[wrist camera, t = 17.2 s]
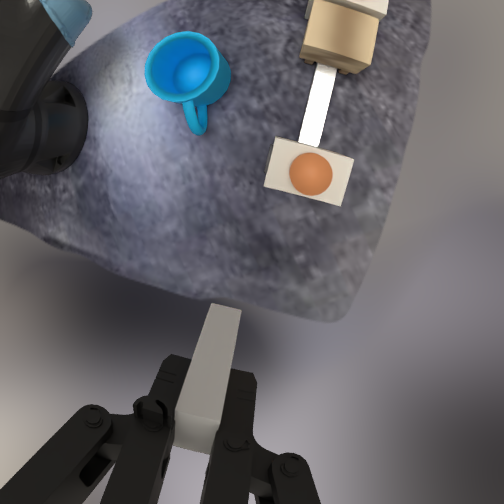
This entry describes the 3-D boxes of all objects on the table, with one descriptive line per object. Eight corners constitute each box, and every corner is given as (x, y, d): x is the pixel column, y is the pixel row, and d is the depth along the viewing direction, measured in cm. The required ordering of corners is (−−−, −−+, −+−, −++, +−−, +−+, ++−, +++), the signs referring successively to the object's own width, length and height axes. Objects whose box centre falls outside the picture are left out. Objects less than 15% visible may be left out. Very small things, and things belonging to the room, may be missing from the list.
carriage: (297, 61, 31) (303, 44, 24) (307, 22, 29) (314, -2, 21) (351, 76, 31) (370, 64, 24) (360, 38, 29) (379, 19, 21)
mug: (166, 57, 32) (141, 42, 24) (227, 43, 31) (214, 23, 23) (177, 140, 36) (153, 143, 29) (238, 130, 36) (229, 129, 28)
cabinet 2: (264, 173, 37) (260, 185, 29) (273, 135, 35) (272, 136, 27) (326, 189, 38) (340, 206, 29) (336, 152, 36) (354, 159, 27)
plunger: (283, 180, 32) (285, 189, 27) (292, 145, 31) (295, 148, 26) (318, 189, 32) (326, 200, 28) (328, 155, 31) (337, 160, 26)
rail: (297, 141, 35) (298, 142, 34) (325, 24, 29) (327, 19, 27) (315, 146, 36) (317, 147, 34) (343, 29, 29) (346, 24, 27)
